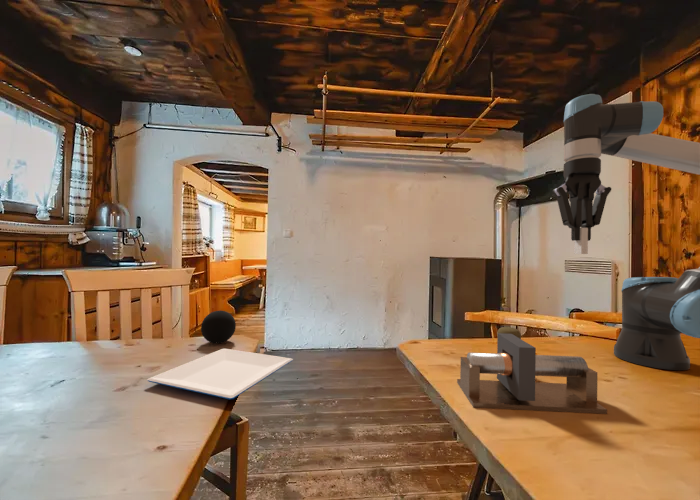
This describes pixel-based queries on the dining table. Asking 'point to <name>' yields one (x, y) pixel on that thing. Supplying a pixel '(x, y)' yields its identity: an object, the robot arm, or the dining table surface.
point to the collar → (518, 366)
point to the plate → (222, 372)
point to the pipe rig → (547, 395)
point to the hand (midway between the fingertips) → (580, 253)
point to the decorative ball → (218, 326)
